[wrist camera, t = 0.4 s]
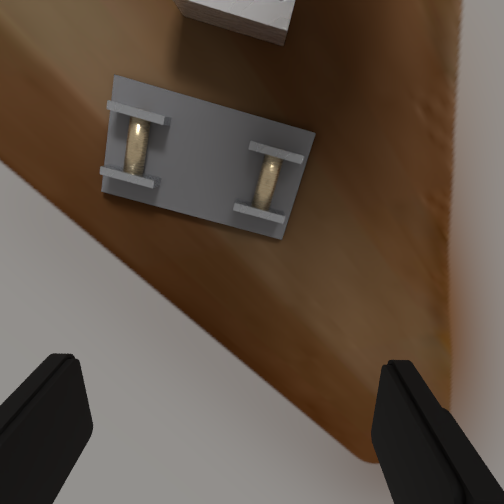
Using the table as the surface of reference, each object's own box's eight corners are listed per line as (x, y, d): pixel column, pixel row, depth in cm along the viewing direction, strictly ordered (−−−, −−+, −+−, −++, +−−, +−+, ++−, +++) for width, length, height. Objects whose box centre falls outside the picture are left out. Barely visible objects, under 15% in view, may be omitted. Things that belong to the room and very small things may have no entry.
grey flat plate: (116, 75, 33) (114, 74, 32) (314, 133, 34) (315, 133, 34) (103, 190, 37) (101, 191, 36) (281, 238, 38) (281, 239, 37)
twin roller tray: (118, 102, 33) (107, 100, 31) (301, 154, 34) (304, 156, 32) (110, 171, 35) (99, 174, 33) (281, 218, 37) (283, 223, 34)
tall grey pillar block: (190, -28, 30) (177, -59, 25) (294, 5, 31) (300, -19, 26) (183, 16, 31) (169, -6, 26) (283, 46, 32) (287, 30, 27)
